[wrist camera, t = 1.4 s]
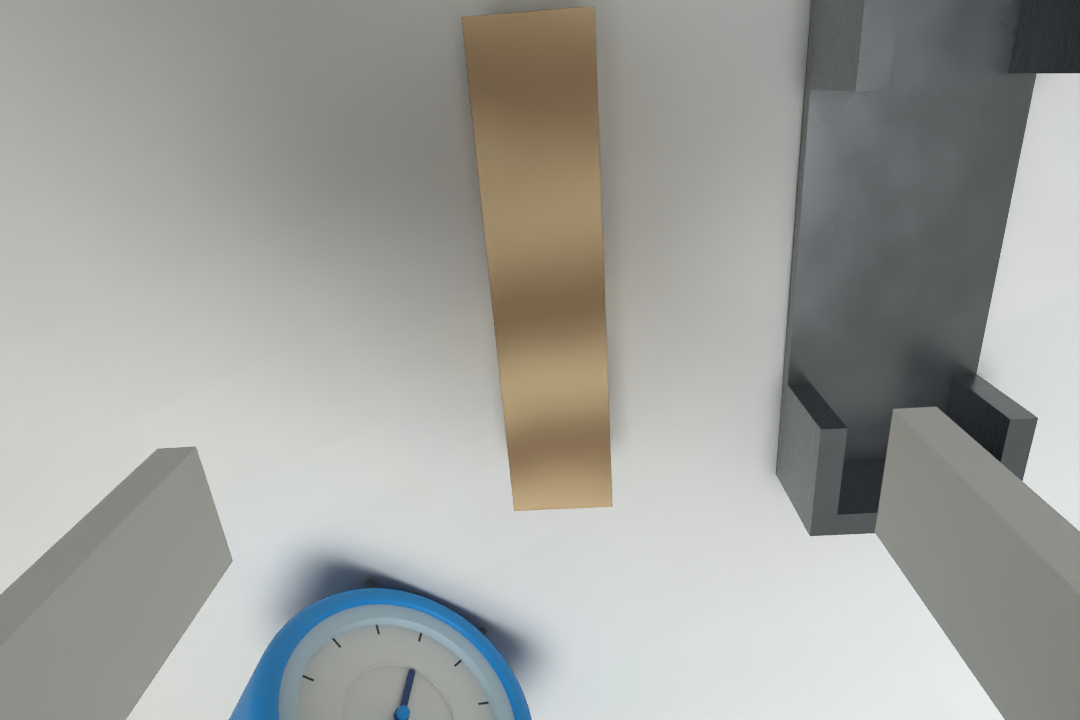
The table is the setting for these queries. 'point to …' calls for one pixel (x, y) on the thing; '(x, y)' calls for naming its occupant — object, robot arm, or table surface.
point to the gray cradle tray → (904, 233)
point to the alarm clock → (381, 664)
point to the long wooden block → (544, 247)
